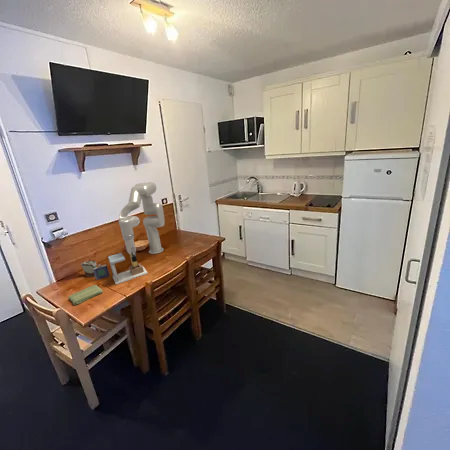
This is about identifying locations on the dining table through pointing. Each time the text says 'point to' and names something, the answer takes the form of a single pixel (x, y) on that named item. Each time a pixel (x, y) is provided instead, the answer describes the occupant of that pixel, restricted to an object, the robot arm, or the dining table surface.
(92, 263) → the food container
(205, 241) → the dining table surface
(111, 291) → the dining table surface
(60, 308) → the dining table surface
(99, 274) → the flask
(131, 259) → the peg
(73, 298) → the washcloth
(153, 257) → the dining table surface
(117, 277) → the socket station
